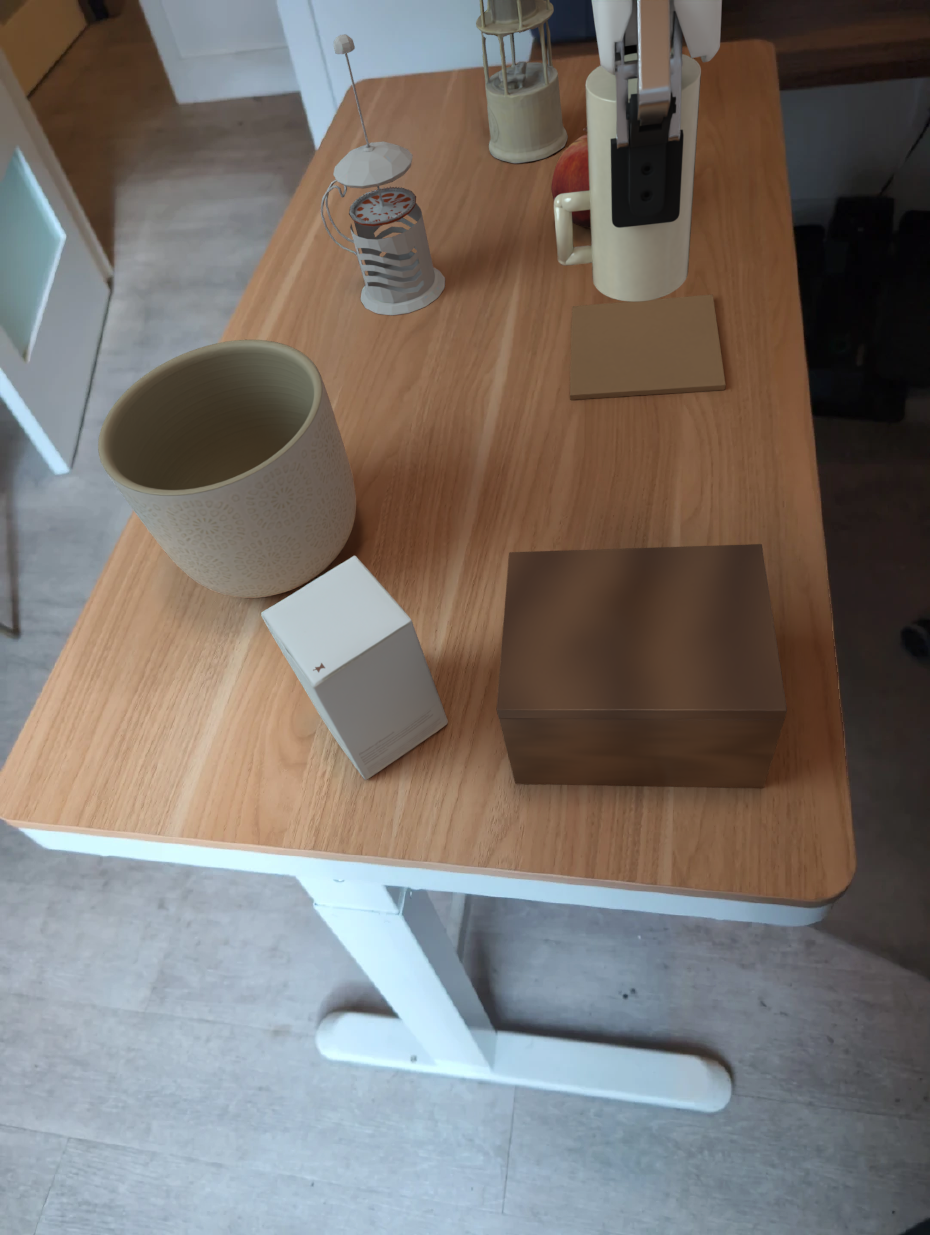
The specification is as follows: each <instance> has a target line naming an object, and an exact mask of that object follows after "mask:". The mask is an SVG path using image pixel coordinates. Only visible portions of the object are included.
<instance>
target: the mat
mask: <svg viewBox="0 0 930 1235" xmlns="http://www.w3.org/2000/svg"><path fill="white" fill-rule="evenodd" d="M571 310H572V311H571V336H570V337H571V338H570V377H569V400H570V401H574V400H590V399H604V398H606V399H607V398H618V397H619V398H621V397H635V396H636V397H637V396H649V395H650V396H651V395H652V396H653V395H664V394H665V395H666V394H681V393H698V392H712V391H713V392H714V391H725V390H726V377H725V371H724V370H725V369H724V363H723V356H722V350H721V342H720V336H719V328H718V321H717V320H718V319H717V314H716V306H715V298H714V294H713V293H712V294H702V295H701V294H700V295H689V296H677V297H665V298H657V299H654V300H649V301H641V302H628V301H619V302H608V303H607V302H606V303H594V304H582V305H573V306H571Z"/></svg>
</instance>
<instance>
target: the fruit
mask: <svg viewBox="0 0 930 1235" xmlns="http://www.w3.org/2000/svg"><path fill="white" fill-rule="evenodd" d="M582 131H584V132H586V133H587V126H586V127H584V128H583V130H582ZM553 170H554V171H553V174H552V178H551V179H552V180H551V186H550V191H551V194H552V199H553V201H554V200H555V198H556V196H558V195H559V194H563V193H571V192H579V191H588V190H589V169H588V141H587V134H583V135H581V136H580V137H578V138H577V139H575V140H574V141H573V142H572V143H570V144H569V145H568V146H567V147H566V148H565V149H564V150H563V152H561V154H560V155H559V158H558V159H557V162H556V165H555V167H554V169H553ZM572 224H575V225H577V226H581V227H584V228H590V229H591V225H590V210H583V211H574V212H572Z"/></svg>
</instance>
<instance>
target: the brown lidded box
mask: <svg viewBox="0 0 930 1235" xmlns="http://www.w3.org/2000/svg"><path fill="white" fill-rule="evenodd" d="M766 570H767V569H766V562H765V557H764V550H763V545H762V544H761V543H752V544H749V543H748V544H722V545H721V544H719V545H717V544H716V545H691V546H690V545H689V546H659V547H631V548H630V547H629V548H627V547H626V548H605V549H604V548H599V549H598V548H597V549H569V550H566V549H565V550H539V551H538V550H537V551H535V550H534V551H510V552H508V560H507V572H506V583H505V584H506V586H505V598H504V612H503V623H502V624H503V625H502V634H501V635H502V636H501V637H502V639H501V648H500V649H501V650H500V660H499V661H500V662H499V674H498V685H497V686H498V687H497V701H496V714H497V716H498V721H499V725H500V729H501V733H502V737H503V742H504V745H505V749H506V753H507V756H508V761H509V765H510V768H511V772H512V776H513V780H514V784H515V785H517V784H518V785H561V786H562V785H563V786H565V785H568V786H569V785H570V786H576V785H577V786H620V787H623V786H624V787H627V786H628V787H674V788H675V787H677V788H679V787H681V788H683V787H684V788H733V789H734V788H735V789H737V788H738V789H764V788H765V784H766V781H767V778H768V775H769V771H770V768H771V765H772V762H773V758H774V755H775V752H776V749H777V745H778V741H779V739H780V736H781V731H782V729H783V725H784V723H785V718H786V715H787V711H788V707H787V701H786V695H785V694H786V693H785V687H784V681H783V676H782V669H781V660H780V655H779V647H778V642H777V634H776V629H775V628H776V627H775V621H774V616H773V609H772V603H771V595H770V589H769V583H768V577H767V576H768V575H767V571H766Z"/></svg>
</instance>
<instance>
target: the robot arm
mask: <svg viewBox="0 0 930 1235" xmlns="http://www.w3.org/2000/svg"><path fill="white" fill-rule="evenodd" d="M722 5H723V0H591V6H592V14H593V21H594V22H593V23H594V30H595V35H596V36H595V37H596V41H597V42H596V44H597V48H598V57H599V63H600V65H601V66H602V67H603V68H604V69H605V70H606V71H607V72H609V73H610V74H612V75H615V87H616V138H613V139H611V202H612V223H613V225H614V226H615V227H618V228H623V227H632V226H641V225H650V224H659V223H668V222H673V221H675V220H676V219H677V218H678V217H679V214H680V196H681V177H682V158H683V139H684V134H683V130H681V86H682V66H683V60H682V54H683V37H684V42H685V44H686V46H687V50H688V53H689V55H690V56H689V57H691V58H693V59H694V58H695V59H696V58H700V59H701V62H702V63H708V62H710V61H711V60H713V58H715V56H716V55H717V53H718V52H719V50H720V47H721V34H722V33H721V31H722V30H721V28H722ZM670 52H671V55H670ZM634 53H637V60H632V61H625V62H624V56H625V55H629V54H634ZM636 78H637V93H636V94H631V98H629V102H628V79H636Z"/></svg>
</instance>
